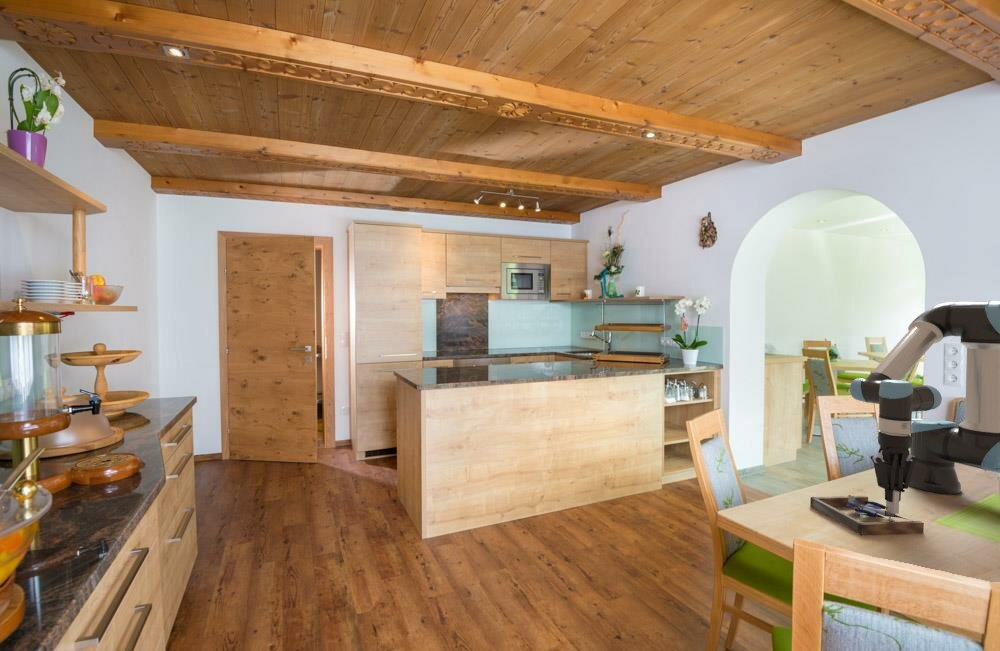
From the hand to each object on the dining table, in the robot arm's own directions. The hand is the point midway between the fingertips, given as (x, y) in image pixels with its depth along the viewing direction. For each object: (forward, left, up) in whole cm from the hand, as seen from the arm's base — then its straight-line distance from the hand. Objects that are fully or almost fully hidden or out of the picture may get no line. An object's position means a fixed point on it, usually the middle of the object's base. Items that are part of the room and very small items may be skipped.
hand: (892, 511), depth 141 cm
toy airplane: (+6, 0, -2) cm, 6 cm away
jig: (+8, 0, -2) cm, 9 cm away
